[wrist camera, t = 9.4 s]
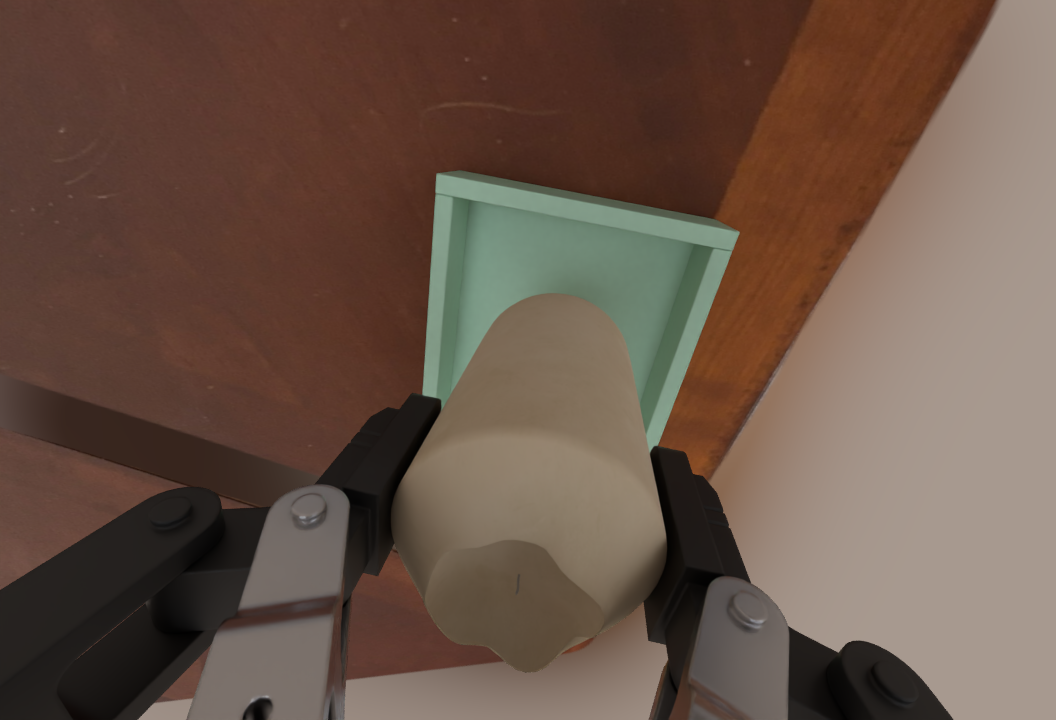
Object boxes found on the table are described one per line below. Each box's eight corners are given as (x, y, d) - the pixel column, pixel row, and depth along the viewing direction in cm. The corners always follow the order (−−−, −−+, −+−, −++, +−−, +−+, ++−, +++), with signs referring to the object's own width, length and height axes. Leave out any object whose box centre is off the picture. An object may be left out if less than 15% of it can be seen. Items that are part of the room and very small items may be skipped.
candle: (625, 283, 14) (686, 491, 6) (631, 419, 17) (681, 723, 8) (470, 298, 15) (307, 497, 6) (495, 425, 18) (401, 702, 9)
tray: (459, 169, 21) (436, 173, 18) (716, 219, 20) (740, 231, 17) (433, 474, 30) (414, 512, 26) (612, 514, 29) (614, 558, 26)
